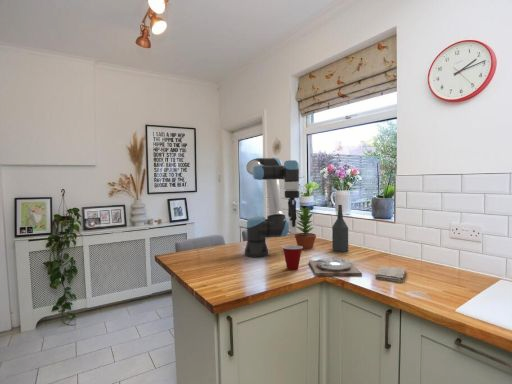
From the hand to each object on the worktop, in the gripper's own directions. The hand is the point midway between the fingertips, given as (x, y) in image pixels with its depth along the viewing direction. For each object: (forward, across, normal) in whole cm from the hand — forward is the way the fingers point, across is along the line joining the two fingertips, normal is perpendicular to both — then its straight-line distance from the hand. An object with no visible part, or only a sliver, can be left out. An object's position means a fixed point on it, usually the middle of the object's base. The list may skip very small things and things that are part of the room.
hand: (292, 231), depth 150 cm
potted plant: (+20, +48, -13) cm, 54 cm away
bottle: (+20, +40, -35) cm, 57 cm away
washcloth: (+21, -11, -46) cm, 52 cm away
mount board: (+20, -1, -21) cm, 29 cm away
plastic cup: (+20, 0, 0) cm, 20 cm away
